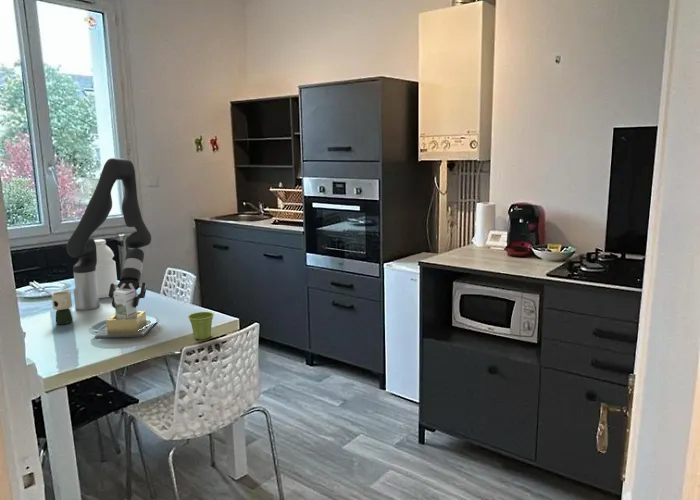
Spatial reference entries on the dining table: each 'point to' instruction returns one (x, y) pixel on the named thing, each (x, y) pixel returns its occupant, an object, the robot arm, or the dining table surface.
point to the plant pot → (201, 324)
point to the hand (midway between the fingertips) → (124, 306)
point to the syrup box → (124, 303)
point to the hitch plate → (125, 326)
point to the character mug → (62, 306)
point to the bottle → (105, 268)
